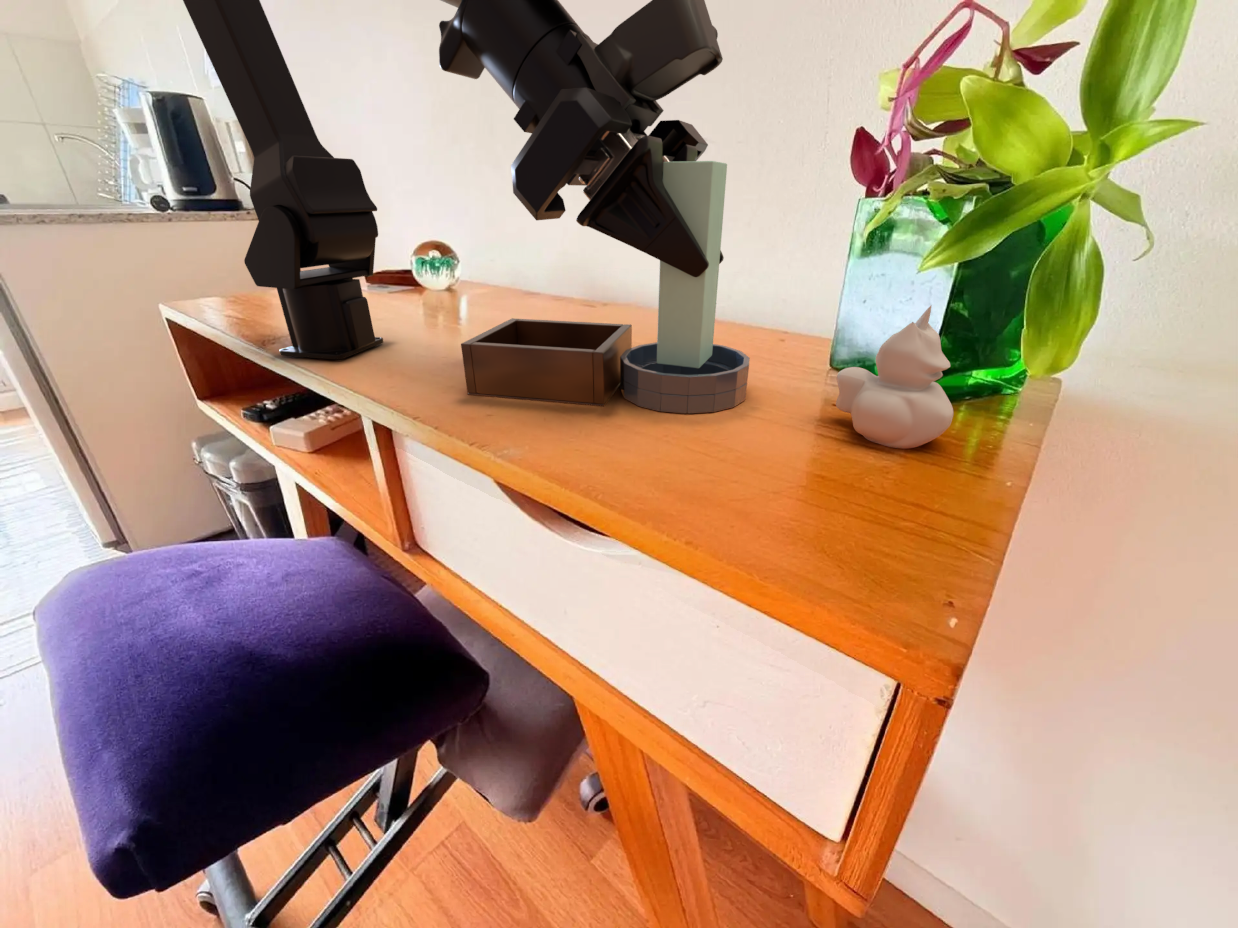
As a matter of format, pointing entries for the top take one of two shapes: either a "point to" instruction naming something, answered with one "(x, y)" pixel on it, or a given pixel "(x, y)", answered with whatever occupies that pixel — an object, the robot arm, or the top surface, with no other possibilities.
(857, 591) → the top surface
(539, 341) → the holder
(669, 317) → the tall sage green pillar
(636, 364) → the bowl
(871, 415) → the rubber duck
